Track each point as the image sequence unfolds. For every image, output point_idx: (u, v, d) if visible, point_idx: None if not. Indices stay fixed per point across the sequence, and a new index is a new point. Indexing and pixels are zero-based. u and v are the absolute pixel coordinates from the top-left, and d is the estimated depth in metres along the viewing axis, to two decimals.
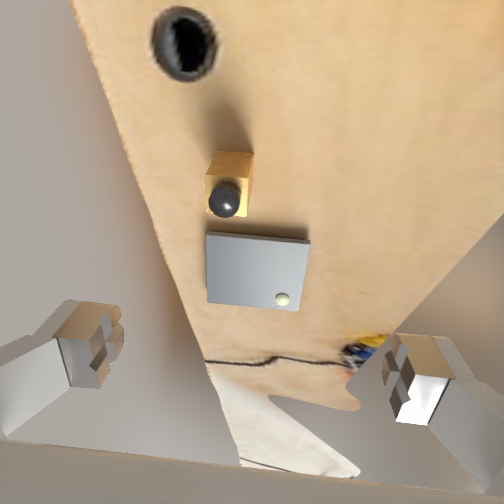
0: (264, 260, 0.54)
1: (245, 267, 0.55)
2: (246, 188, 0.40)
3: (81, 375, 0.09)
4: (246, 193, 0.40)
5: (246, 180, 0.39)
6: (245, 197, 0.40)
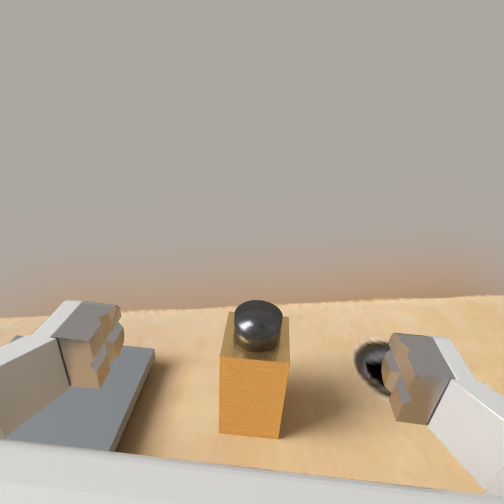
0: (65, 435, 0.26)
1: (63, 398, 0.28)
2: (272, 359, 0.24)
3: (81, 375, 0.09)
4: (262, 360, 0.24)
5: (286, 360, 0.24)
6: (255, 357, 0.24)
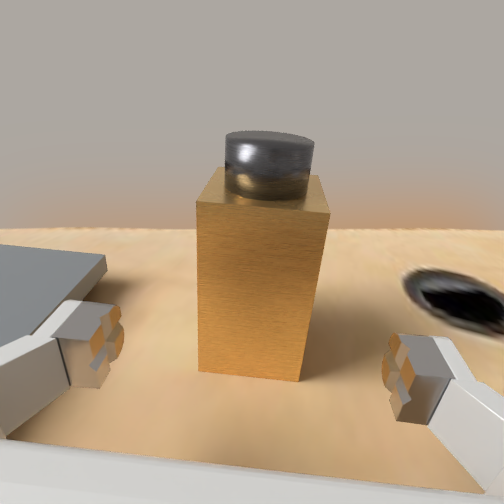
0: None
1: None
2: (296, 208, 0.13)
3: (81, 375, 0.09)
4: (277, 209, 0.13)
5: (322, 210, 0.13)
6: (264, 205, 0.13)
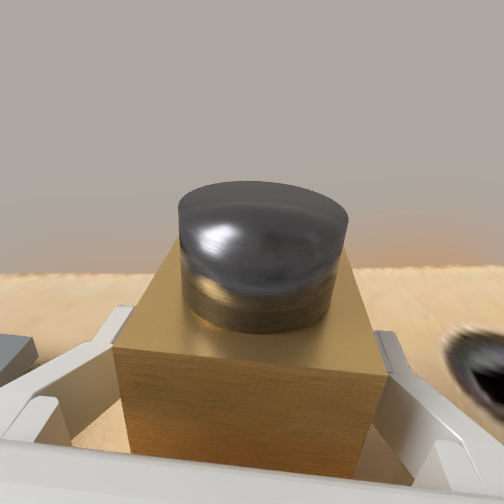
0: None
1: None
2: (316, 362, 0.06)
3: None
4: (278, 362, 0.06)
5: (370, 366, 0.06)
6: (252, 353, 0.06)
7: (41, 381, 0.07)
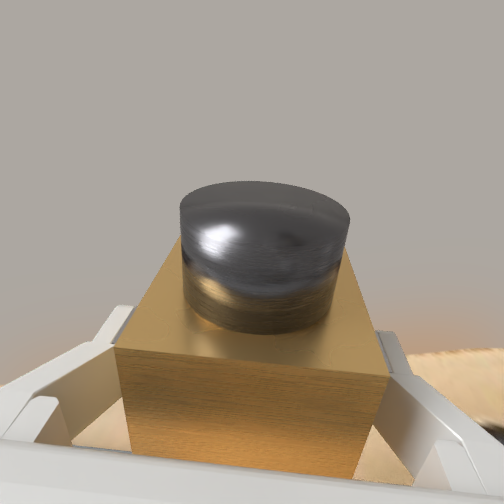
0: None
1: None
2: (318, 362, 0.06)
3: None
4: (280, 363, 0.06)
5: (372, 366, 0.06)
6: (254, 353, 0.06)
7: (41, 381, 0.07)
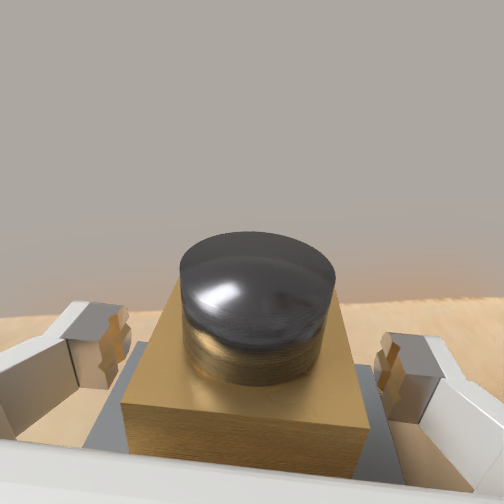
0: None
1: None
2: (305, 415, 0.07)
3: (90, 376, 0.09)
4: (271, 415, 0.07)
5: (354, 418, 0.07)
6: (247, 407, 0.07)
7: None
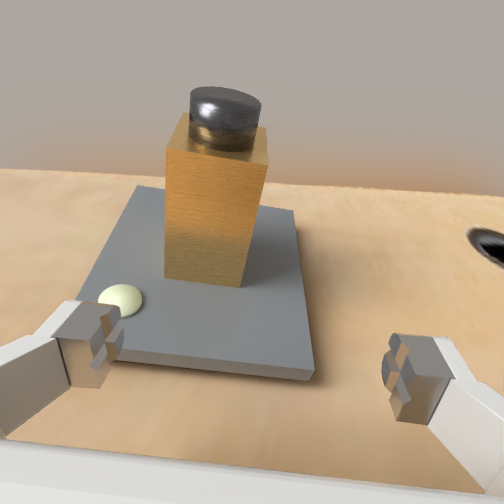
0: (252, 276, 0.24)
1: None
2: (243, 159, 0.17)
3: (81, 375, 0.09)
4: (229, 159, 0.17)
5: (262, 162, 0.17)
6: (219, 155, 0.17)
7: None
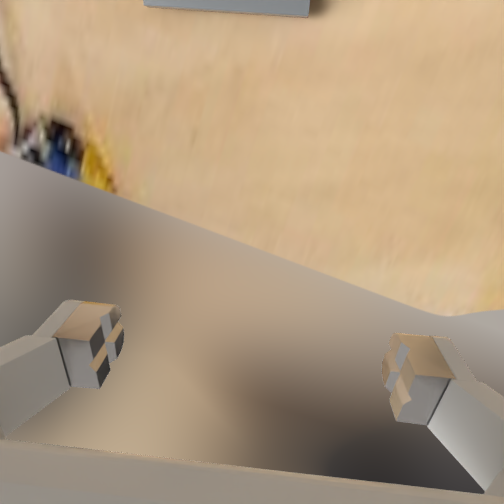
0: None
1: None
2: None
3: (81, 375, 0.09)
4: None
5: None
6: None
7: None
